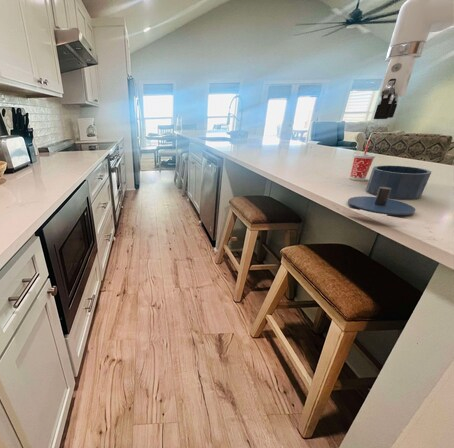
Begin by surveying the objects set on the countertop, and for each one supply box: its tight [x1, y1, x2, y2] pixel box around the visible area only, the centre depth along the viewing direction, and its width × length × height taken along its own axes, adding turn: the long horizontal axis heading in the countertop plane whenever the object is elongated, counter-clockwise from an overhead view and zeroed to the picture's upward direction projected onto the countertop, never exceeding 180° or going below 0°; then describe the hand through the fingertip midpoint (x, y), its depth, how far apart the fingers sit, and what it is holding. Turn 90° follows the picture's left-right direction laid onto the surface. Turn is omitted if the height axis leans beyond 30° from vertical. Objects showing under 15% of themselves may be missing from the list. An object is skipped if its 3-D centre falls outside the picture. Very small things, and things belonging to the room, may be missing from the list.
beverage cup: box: [349, 140, 376, 182], centre depth 89 cm, size 6×6×14 cm
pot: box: [365, 165, 432, 201], centre depth 74 cm, size 13×13×8 cm
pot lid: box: [347, 187, 416, 216], centre depth 64 cm, size 14×14×6 cm
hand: (383, 118), depth 76 cm, fingers open, 9 cm apart
